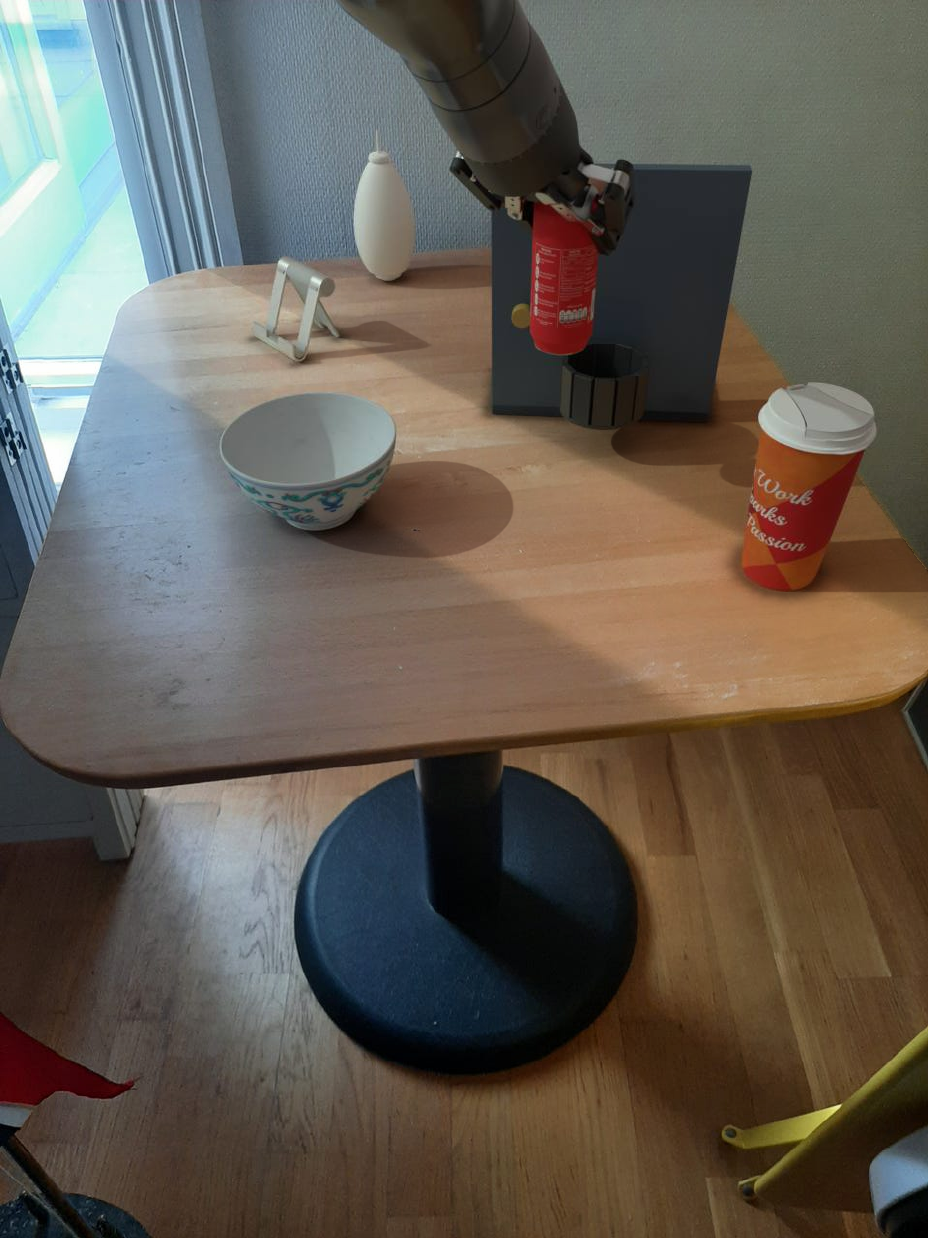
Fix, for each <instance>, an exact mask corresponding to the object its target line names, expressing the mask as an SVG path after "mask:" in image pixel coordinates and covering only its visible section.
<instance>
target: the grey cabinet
mask: <svg viewBox="0 0 928 1238" xmlns="http://www.w3.org/2000/svg"><path fill="white" fill-rule="evenodd" d="M631 164H632V165H633V167H634V186H635V204H634V207H633V209H632V212H631V215H630V217H629V220H628V222H627V225H626V227H625V230H624V233H623V235H621V237H620V239H619V242H618V244H617V247H616V250H615V251H614V250H612V252H611V254H610V255H609V256H607V255H602V254H600V253H599V254H598V267H597V279H596V292H595V305H594V318H593V330H592V335H591V336H590V338H589V340H588V342H587V345H586V347H585V348H584V349H583V350H582V351H580V352H578V353H575V354H570V355H552V354H548V353H544V352H542V351H540V350H538V349H537V348H536V347H535V345H534V340H533V337H532V335H531V333H530V309H531V276H532V244H533V239H532V238H531V236H530V234H529V233H528V232H526V231H525V230H524V228H523V226H522V225H521V223H520V222H519V220H515V219H513V218H511V217H510V216H509V215H508V214H507V209H504V208H501V207H500V210H499V212H492V211H490V212H491V214H490V215H491V217H490V218H491V221H490V223H491V226H490V229H491V230H490V231H491V234H490V235H491V237H490V238H491V241H490V242H491V244H490V245H491V414H492V415H509V416H536V417H556V418H557V417H558V418H560V417H561V418H564V419H566V421H568V422H570V423H571V424H574V425H575V426H577V427H580V428H585V429H588V430H595V431H597V430H598V431H613V430H619V429H624V428H626V427H631V426H632V425H634V424H635V423H637V422H638V421H657V422H658V421H661V422H683V423H684V422H686V423H709V419H710V414H711V413H710V412H711V408H712V403H713V395H714V391H715V384H716V379H717V373H718V367H719V362H720V357H721V350H722V345H723V341H724V340H723V339H724V333H725V328H726V322H727V318H728V317H727V316H728V310H729V304H730V300H731V294H732V289H733V284H734V283H733V282H734V277H735V271H736V265H737V261H738V254H739V250H740V249H739V248H740V243H741V237H742V233H743V225H744V219H745V215H746V210H747V205H748V198H749V193H750V187H751V181H752V176H753V169H752V166H751V165H750V164H743V165H742V164H686V163H685V164H684V163H683V164H681V163H678V164H676V163H675V164H672V163H669V164H668V163H631ZM594 165H598V166H601V167H605V168H609V169H611V168H614V167H615V165H616V163H600V162H599V163H597V162H594Z"/></svg>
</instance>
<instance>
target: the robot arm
mask: <svg viewBox="0 0 928 1238" xmlns="http://www.w3.org/2000/svg"><path fill="white" fill-rule="evenodd" d="M334 1H335V3H336V4H337V5H338V6H339V7H340V8H341V9H342V10H343V12H345V13H346V14H347V15H348V16H349V17H350V18H352V19H353V20H354V21H355V22H356V23H358V24H359V25H360V26H362V27H363V28H364V29H365V30H367V31H368V32H369V33H370V34H371V35H372V36H374V37H375V38H376V39H377V40H379V41H380V42H381V43H382V44H384V45H385V46H386V47H388V48H390V49H391V50H393V51H394V52H397V53H398V55H399V57H400V58H401V60H402V62H403V63H404V65H405V67H406V68H407V70H408V71H409V73H410V74H411V76H412V77H413V78H414V79H415V81H416V83H417V84H418V86H419V87H420V89H421V90H422V92H423V94H424V95H425V96H426V98H427V100H428V102H429V105H430V108H431V109H432V112H433V114H434V116H435V118H436V120H437V121H438V123H439V124H440V126H441V128H442V129H443V131H444V132H445V133H446V135H447V136H448V138H449V140H450V141H451V142H452V144H453V145H454V147H455V148H456V149H455V152H454V154H453V157H452V161H451V163H450V167H449V169H448V170H449V172H450V173H451V174H452V175H453V176H454V177H455V178H456V179H457V180H458V181H459V182H460V183H461V184H462V185H463V186H464V187H465V188H466V189H467V190H468V191H469V192H470V193H471V194H472V195H473V196H474V197H475V198H476V199H477V200H478V201H479V202H480V204H482V206H484V207H485V209H487V210H488V211H490V212H491V211H492V212H499V210H500V207H501V208H504V209H507V214H508V215H509V216H510V217H511V218H513V219H515V220H519V222H520V223H521V225H522V226H523V228H524V230H525V231H526V232H528V233H529V234H530V236H531V238H532V239H533V211H534V203H535V202H542V203H543V204H545V205H551V206H552V207H553V208H554V209H555V210H556V211H557V212H558V213H560V214H561V215H562V216H563V217H564V218H565V219H566V220H567V221H568V222H570V223H573V222H579V223H580V224H581V225H583V226H584V227H585V228H586V229H587V230H588V231H589V235H590V236H591V238H592V240H593V242H594V244H595V246H596V248H597V250H598V251H599V253H600V254H602V255H607V256H609V255H610V254H611V252H612V250H614V251H615V250H616V247H617V244H618V242H619V239H620V237H621V235H623V233H624V230H625V227H626V225H627V222H628V220H629V217H630V215H631V212H632V209H633V207H634V204H635V186H634V167H633V165H632V164H633V163H632V162H630V161H629V160H627V159H617V160H616V162H615V164H616V165H615V167H614V168H611V169H609V168H605V167H601V166H598V165H594V163H595V162H594V159H593V157H592V156H591V155H590V153H588V152H587V150H585V149H584V148H583V146H581V144H580V137H579V127H578V120H577V116H576V113H575V110H574V108H573V106H572V104H571V102H570V99H569V97H568V95H567V93H566V90H565V88H564V86H563V84H562V82H561V80H560V78H559V75H558V73H557V70H556V68H555V66H554V64H553V61H552V60H551V57H550V55H549V53H548V51H547V49H546V46H545V44H544V43H543V41H542V39H541V37H540V36H539V34H538V33H537V31H536V29H535V28H534V27H533V26H532V24H531V22H530V21H529V19H528V17H527V15H526V14H525V11H524V9H523V6H522V5H521V3H520V0H334ZM572 201H573V203H571V202H572ZM593 202H595V203H596V204H597V205H596V208H595V210H594V213H593V215H592V214H591V212H590V208H591V206H592V203H593Z"/></svg>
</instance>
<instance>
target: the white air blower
mask: <svg viewBox="0 0 928 1238" xmlns="http://www.w3.org/2000/svg"><path fill="white" fill-rule="evenodd" d="M375 144H376V147H375V148H376V151H372V152H370V153H369V154H368V158H367V159H368V162H367V164H366V166H365V167H364V170H363V171H362V173H361V175H360V178H359V182H358V185H357V190H356V194H355V199H354V207H353V208H354V209H353V232H354V240H355V244H356V248H357V251H358V253H359V256H360V259H361V261H362V263H363V265H364V266H365V268H366V269H367V271H368V272H369V273H370V274H373V275H374V276H375V277H376V278H377V279H379V280H382V281H384V282H393V281H395V280H396V279H398V278H400V277H401V276H402V273H405V272H406V271H407V270H408V268H409V266H410V264H411V261H412V259H413V256H414V252H415V247H416V222H415V221H416V219H415V213H414V209H413V205H412V200H411V198H410V194H409V191H408V189H407V187H406V185H405V182H404V180H403V178H402V176H401V174H400V172H399V171H398V169H397V168H396V166H395V165H394V163H393V162H392V161H391V156H390V154H389V153H388V152H387V151H384V150H381V140H380V134H379V131H378V129H376V131H375Z"/></svg>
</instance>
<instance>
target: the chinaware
mask: <svg viewBox="0 0 928 1238" xmlns="http://www.w3.org/2000/svg"><path fill="white" fill-rule="evenodd" d="M396 442H397V426H396V423H395V420H394V419H393V417H392V415H391V414H390V413H389V412H388V411H387V410H386V409H385V408H383V407H382V406H381V405H379V404H378V403H376V402H374V401H372V400H370V399H367V398H365V397H361V396H358V395H354V394H349V393H342V392H333V391H332V392H331V391H309V392H300V393H294V394H288V395H283V396H279V397H275V398H272V399H269V400H266V401H264V402H262V403H259V404H257V405H255V406H252V407H251V408H249V409H247V410H245V411H244V412H242V413H241V414H239V415H238V416H237V417H235V418H234V419H233V420H232V421H231V422H230V423H229V424H228V425H227V427H226V428H225V429H224V431H223V433H222V435H221V437H220V441H219V453H220V456H221V459H222V461H223V464H224V466H225V468H226V471H228V474H229V475H230V477H231V479H232V480H233V482H234V484H236V486H237V487H238V488H239V490H240V491H241V492H242V493H243V494H244V496H245V497H247V499H249V500H250V501H251V502H252V503H253V504H254V505H256V506H257V507H258V508H260V509H261V510H263V511H265V512H267V513H268V514H270V515H272V516H274V517H276V518H278V519H279V518H280V519H282V520H285V521H286V522H287V523H288V524H289V525H291V526H293V527H295V528H297V529H300V530H306V531H325V530H330V529H334V528H336V527H339V526H341V525H343V524H344V523H346V522H348V521H349V520H350V519H351V518H352V517H353V516H354V515H355V513H356V511H357V510H358V509H359V508H361V507H362V506H364V505H365V504H366V503H367V502H368V501H369V500H370V499H371V498H372V497H373V496H374V495H375V493H377V491H378V490H379V489H380V487H381V486H382V485H383V482H384V481H385V479H386V477H387V475H388V473H389V470H390V467H391V465H392V462H393V457H394V454H395V449H396Z"/></svg>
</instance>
